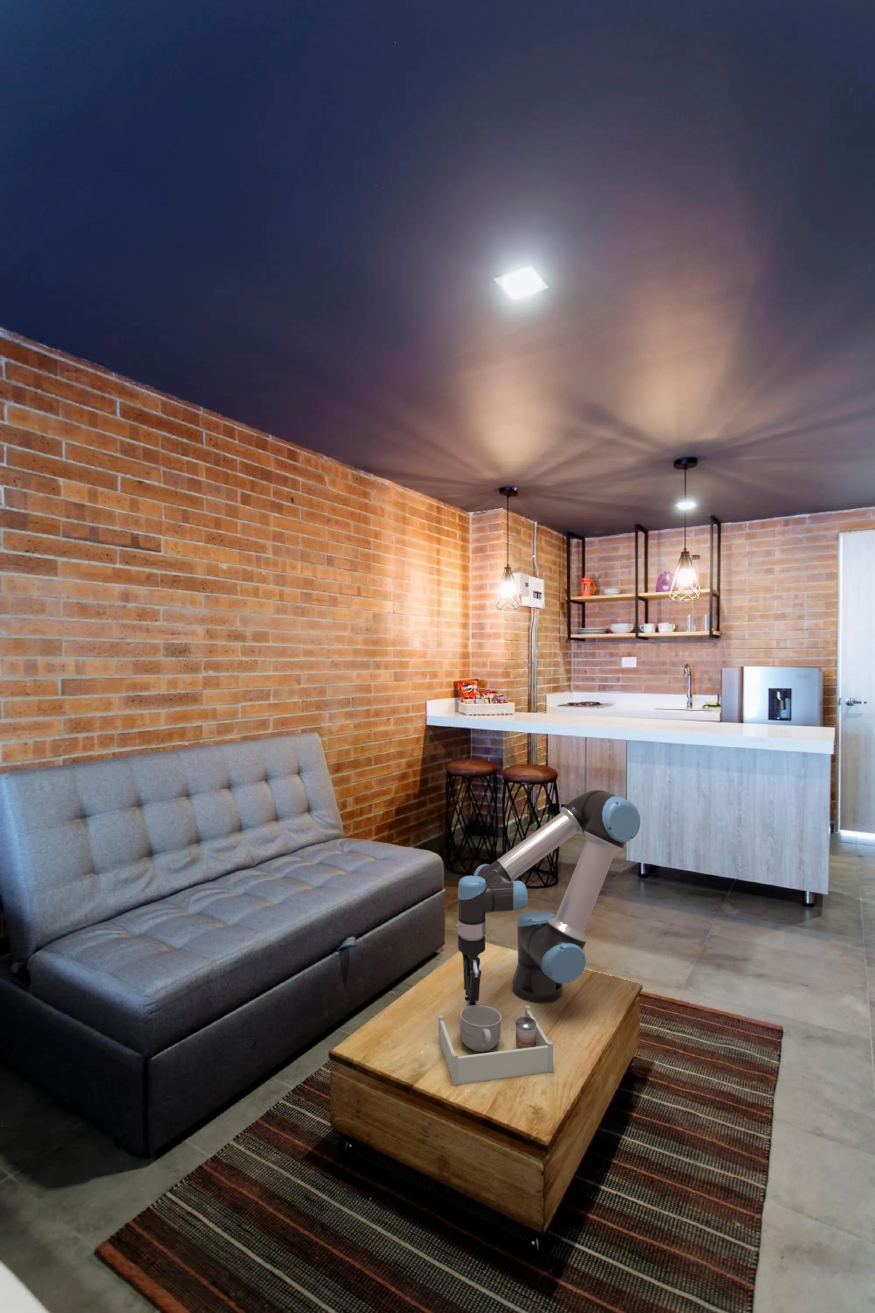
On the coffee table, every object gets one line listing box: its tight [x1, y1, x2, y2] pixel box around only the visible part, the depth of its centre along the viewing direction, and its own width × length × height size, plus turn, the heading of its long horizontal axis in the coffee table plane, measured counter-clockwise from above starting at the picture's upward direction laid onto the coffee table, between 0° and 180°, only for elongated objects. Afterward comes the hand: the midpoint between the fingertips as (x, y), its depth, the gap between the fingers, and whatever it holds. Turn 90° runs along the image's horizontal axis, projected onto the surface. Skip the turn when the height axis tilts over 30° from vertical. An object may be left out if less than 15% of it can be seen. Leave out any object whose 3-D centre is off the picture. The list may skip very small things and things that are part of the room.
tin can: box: [515, 1016, 536, 1049], centre depth 163 cm, size 5×5×8 cm
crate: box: [438, 1004, 554, 1086], centre depth 162 cm, size 25×18×7 cm
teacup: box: [459, 1004, 502, 1053], centre depth 166 cm, size 14×11×8 cm
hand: (471, 1021), depth 175 cm, fingers closed
